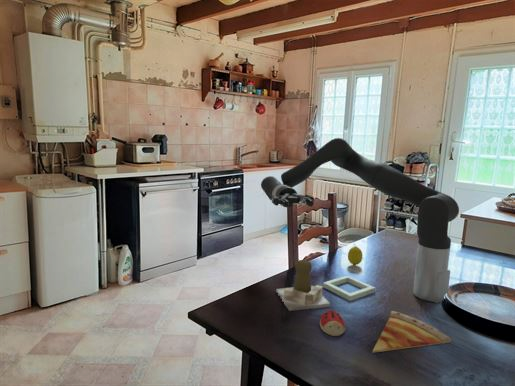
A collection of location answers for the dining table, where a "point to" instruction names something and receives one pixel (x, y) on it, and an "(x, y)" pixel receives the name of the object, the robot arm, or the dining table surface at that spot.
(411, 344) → the pizza slice
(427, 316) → the dining table surface
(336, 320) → the ladybug figurine
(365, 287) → the block
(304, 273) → the olive tall tapered post
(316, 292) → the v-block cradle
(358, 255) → the lemon
